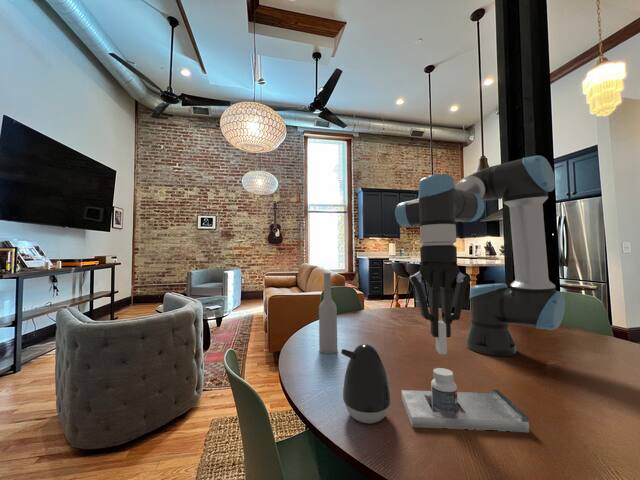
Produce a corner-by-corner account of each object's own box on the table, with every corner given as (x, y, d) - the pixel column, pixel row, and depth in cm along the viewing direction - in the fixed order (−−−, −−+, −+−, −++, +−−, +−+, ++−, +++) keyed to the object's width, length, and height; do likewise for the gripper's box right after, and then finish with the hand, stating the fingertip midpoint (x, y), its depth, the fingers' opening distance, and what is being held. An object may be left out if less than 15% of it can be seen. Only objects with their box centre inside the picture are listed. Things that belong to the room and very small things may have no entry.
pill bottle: (461, 421, 57) (459, 377, 58) (434, 419, 58) (433, 376, 59) (454, 407, 63) (452, 367, 63) (429, 405, 64) (428, 366, 64)
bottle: (320, 347, 104) (319, 272, 106) (337, 347, 104) (336, 272, 105) (318, 353, 98) (317, 273, 99) (337, 354, 97) (335, 273, 98)
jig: (498, 402, 64) (497, 389, 65) (529, 432, 54) (528, 417, 54) (401, 398, 67) (401, 386, 67) (412, 427, 56) (411, 412, 56)
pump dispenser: (339, 404, 64) (337, 338, 65) (382, 402, 65) (381, 336, 66) (346, 433, 54) (345, 354, 55) (398, 429, 55) (396, 351, 56)
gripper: (461, 244, 65) (465, 346, 64) (404, 245, 67) (407, 345, 65) (476, 243, 58) (480, 359, 57) (411, 244, 59) (414, 357, 58)
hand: (441, 351), depth 61 cm, fingers closed
